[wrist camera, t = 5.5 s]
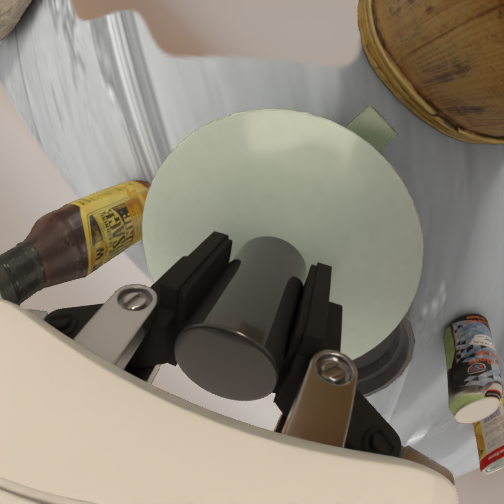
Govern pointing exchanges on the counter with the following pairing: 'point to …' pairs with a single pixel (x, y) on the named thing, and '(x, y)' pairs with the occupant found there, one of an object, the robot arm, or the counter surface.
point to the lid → (281, 240)
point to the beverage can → (472, 369)
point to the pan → (386, 359)
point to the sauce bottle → (74, 240)
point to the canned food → (491, 440)
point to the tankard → (441, 61)
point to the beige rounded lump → (11, 14)
